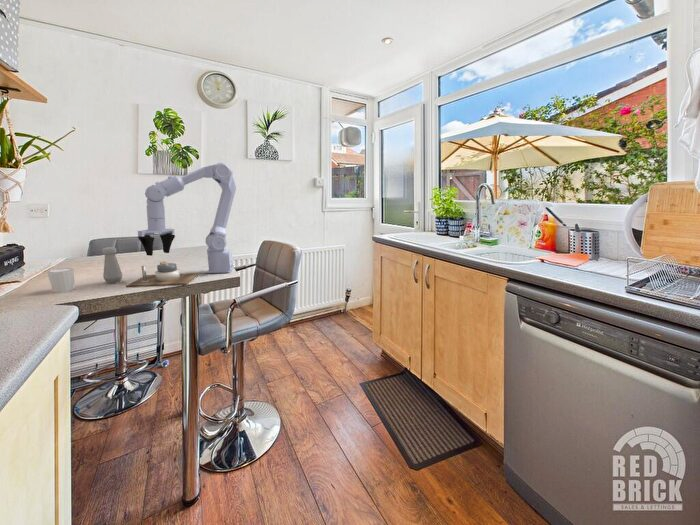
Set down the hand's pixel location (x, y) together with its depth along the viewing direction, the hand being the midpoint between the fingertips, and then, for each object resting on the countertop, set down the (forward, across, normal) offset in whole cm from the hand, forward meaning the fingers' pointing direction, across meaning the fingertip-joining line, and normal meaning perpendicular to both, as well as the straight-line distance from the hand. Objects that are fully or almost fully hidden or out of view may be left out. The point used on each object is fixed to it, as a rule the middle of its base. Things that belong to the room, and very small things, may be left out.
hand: (158, 254), depth 127 cm
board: (+9, +2, +5) cm, 11 cm away
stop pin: (+10, +7, +1) cm, 12 cm away
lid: (+6, 0, +3) cm, 6 cm away
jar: (+9, +1, +6) cm, 11 cm away
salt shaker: (+10, +10, -12) cm, 18 cm away
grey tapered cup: (+11, +22, -17) cm, 31 cm away
